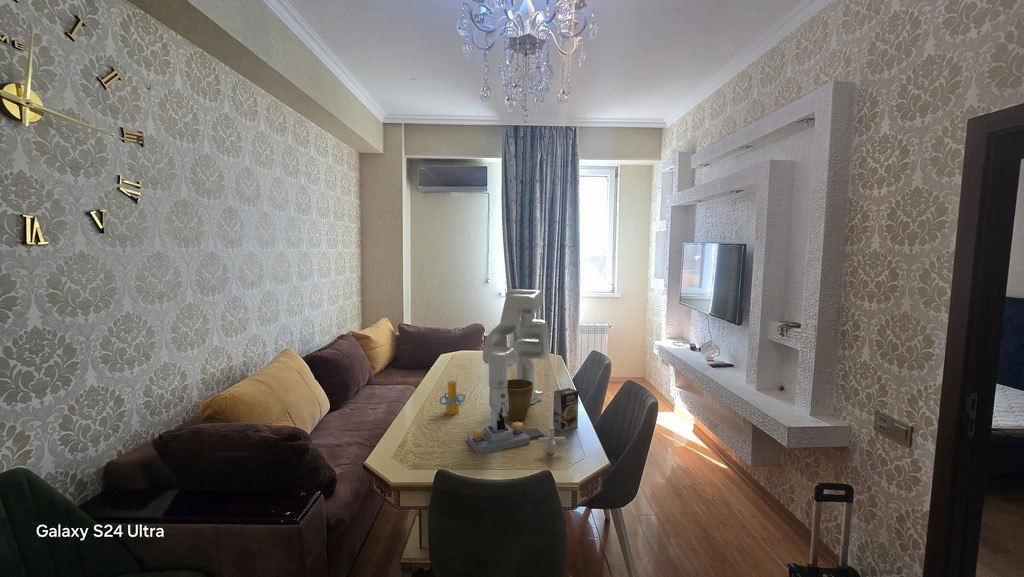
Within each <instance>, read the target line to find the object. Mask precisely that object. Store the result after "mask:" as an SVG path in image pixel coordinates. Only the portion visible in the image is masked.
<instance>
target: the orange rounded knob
mask: <svg viewBox="0 0 1024 577" xmlns="http://www.w3.org/2000/svg"><path fill="white" fill-rule="evenodd" d="M472 433H473V437H475V443H476V442H481V441H482V437H483V436H484V429H482V428H476V429H473V430H472Z"/></svg>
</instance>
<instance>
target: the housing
mask: <svg viewBox="0 0 1024 577" xmlns="http://www.w3.org/2000/svg"><path fill="white" fill-rule="evenodd" d="M483 430H484V436H483V437H482V441H481V442H476V443H475V437H473V432H471V433H467V434H466V441H467V442H468V443H469V445H470V446H471V447H472V449H473V450H474V451H475V453H476V454H477V455H480V454H485V453H489V452H495V451H499V450H504V449H509V448H514V447H518V446H523V445H527V444H530V443H531V439H530V437H529V436H528V435H527V434H526V433H525V432H524V431H522V430H523V429H521V434H516V435H515V434H514V429H512V425H508V424H506V423H505V429H504V432H499V433H492V424H489V425H483Z"/></svg>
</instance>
